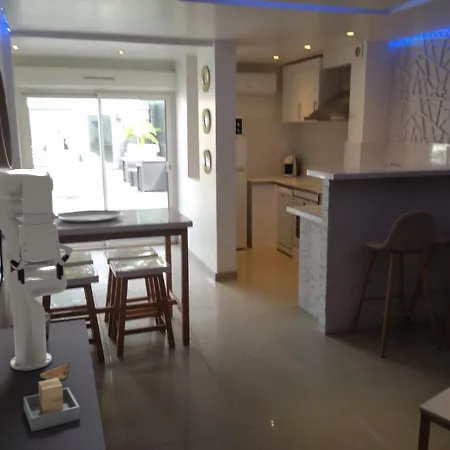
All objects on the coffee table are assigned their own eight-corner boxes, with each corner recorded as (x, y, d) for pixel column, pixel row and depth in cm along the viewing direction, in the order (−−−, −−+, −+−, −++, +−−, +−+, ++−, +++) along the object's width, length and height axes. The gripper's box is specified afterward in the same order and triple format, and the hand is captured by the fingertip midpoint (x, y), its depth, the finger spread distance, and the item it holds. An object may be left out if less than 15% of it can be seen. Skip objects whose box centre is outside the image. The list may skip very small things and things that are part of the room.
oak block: (39, 410, 133) (38, 381, 132) (59, 405, 135) (58, 377, 134) (43, 419, 128) (42, 389, 127) (63, 414, 131) (62, 385, 130)
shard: (70, 366, 162) (69, 361, 162) (84, 373, 157) (84, 367, 157) (39, 378, 154) (39, 372, 153) (53, 385, 149) (53, 379, 149)
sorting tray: (23, 409, 134) (23, 397, 134) (68, 398, 140) (68, 387, 139) (31, 431, 124) (31, 418, 123) (80, 419, 130) (79, 406, 129)
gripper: (67, 215, 142) (69, 274, 145) (1, 219, 134) (5, 281, 136) (74, 219, 136) (76, 280, 139) (5, 223, 127) (9, 288, 130)
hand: (41, 280), depth 137 cm, fingers open, 9 cm apart
